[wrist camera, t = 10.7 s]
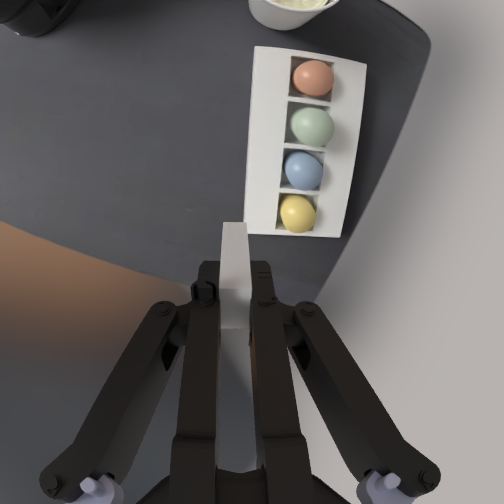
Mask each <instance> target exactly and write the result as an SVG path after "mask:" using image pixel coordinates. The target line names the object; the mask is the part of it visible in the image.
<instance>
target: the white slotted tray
mask: <svg viewBox="0 0 504 504" xmlns="http://www.w3.org/2000/svg"><path fill="white" fill-rule="evenodd" d="M311 60H317V61H321V62H323V63H325V64H326V65H327V66H329V68H330V69H331V70H332V72H333V75H334V84H333V86H332V88H331V89H330V91H328V92H327V93H325V94H323V95H303V94H300V93H298V92H297V91H296V90H295V89H294V88H293V86H292V84H291V81H290V76H291V73H292V71H293V70H294V69H295V68H296V67H297V66H299V65H301V64H303V63H305V62H307V61H311ZM366 68H367V64H364V63H360V62H356V61H352V60H347V59H343V58H338V57H334V56H329V55H323V54H318V53H312V52H306V51H299V50H291V49H283V48H274V47H262V46H255V49H254V58H253V72H252V87H251V102H250V117H249V133H248V149H247V166H246V184H245V201H244V220H243V222H246V223H247V233H248V234H274V235H297V236H319V237H339V238H340V235H341V230H342V226H343V221H344V217H345V212H346V207H347V202H348V197H349V192H350V186H351V181H352V175H353V170H354V164H355V158H356V151H357V145H358V138H359V131H360V124H361V116H362V108H363V99H364V90H365V79H366ZM303 107H310V108H315V109H320V110H323V111H325V112H326V113H328V114H329V115H330V116H331V118H332V119H333V122H334V126H335V131H334V135H333V137H332V139H331V140H330V141H329V142H328V143H327V144H325V145H323V146H320V147H312V146H308V145H306V144H305V143H303V142H302V141H301V140H299V139H298V138H297V137H295V136H294V135H293V133H292V132H291V130H290V126H289V121H290V117H291V115H292V114H293V113H294V112H295V111H296V110H297V109H299V108H303ZM298 149H300V150H304V151H307V152H308V153H309V154H310V155H312V156H313V157H314V158H315V159H316V160H317V161H318V162H319V163H320V164H321V166H322V169H323V177H322V180H321V182H320V183H319V184H318V185H317V186H316V187H315V188H313V189H311V190H307V191H303V190H299V189H296V188H295V187H293V186H292V184H291V183H290V181H289V180H288V178H287V176H286V174H285V172H284V170H283V160H284V158H285V156H286V155H287V154H288V153H289V152H291V151H293V150H298ZM285 193H296V194H304V195H305V196H306V197H307V199H308V201H309V202H310V204H311V205H312V207H313V209H314V211H315V213H316V220H315V223H314V225H313V226H312V228H311V229H309V230H308V231H306V232H304V233H293V232H290V231H289V230H287V229H286V227H285V226H284V224H283V221H282V218H281V214H280V211H279V207H278V204H279V201H280V199H281V197H282V196H283V195H284V194H285Z"/></svg>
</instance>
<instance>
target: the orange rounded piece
mask: <svg viewBox="0 0 504 504" xmlns="http://www.w3.org/2000/svg"><path fill="white" fill-rule="evenodd" d="M290 81H291V84H292V86H293V88H294V89H295V90H296V91H297V92H298V93H300V94H303V95H323V94H325V93H327V92H328V91H330V89H331V88H332V86H333V84H334V75H333V72H332V70H331V69H330V68H329V66H327V65H326V64H325V63H323V62H321V61H317V60H311V61H307V62H305V63H303V64H301V65H299V66H297V67H296V68H295V69H294V70H293V71H292V73H291V76H290Z"/></svg>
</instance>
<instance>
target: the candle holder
mask: <svg viewBox="0 0 504 504" xmlns="http://www.w3.org/2000/svg"><path fill="white" fill-rule="evenodd" d="M338 1H339V0H248V5H249V9H250V12H251V14H252V15H253V17H254V18H255V19H256V20H257V21H258V22H259V23H261V24H262V25H264V26H266V27H268V28H271V29H275V30H292V29H295V28H298V27H300V26H302V25H304V24H305V23H307V22H308V21H309V20H311V19H312V18H314V17H315V16H317V15H318V14H319V13H321V12H322V11H324V10H325V9H327V8H329V7H331V6H333V5H334V4H336V3H337V2H338Z"/></svg>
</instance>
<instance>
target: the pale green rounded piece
mask: <svg viewBox="0 0 504 504" xmlns="http://www.w3.org/2000/svg"><path fill="white" fill-rule="evenodd" d="M289 126H290V130H291V132H292V133H293V135H294V136H295V137H297V138H298V139H299V140H301V141H302V142H303V143H305V144H306V145H308V146H312V147H320V146H323V145H325V144H327V143H328V142H329V141H330V140H331V139H332V137H333V135H334V131H335V126H334V122H333V119H332V118H331V116H330V115H329V114H328V113H326V112H325V111H323V110H320V109H315V108H310V107H303V108H299V109H297V110H296V111H295V112H294V113H293V114H292V115H291V117H290V121H289Z"/></svg>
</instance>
